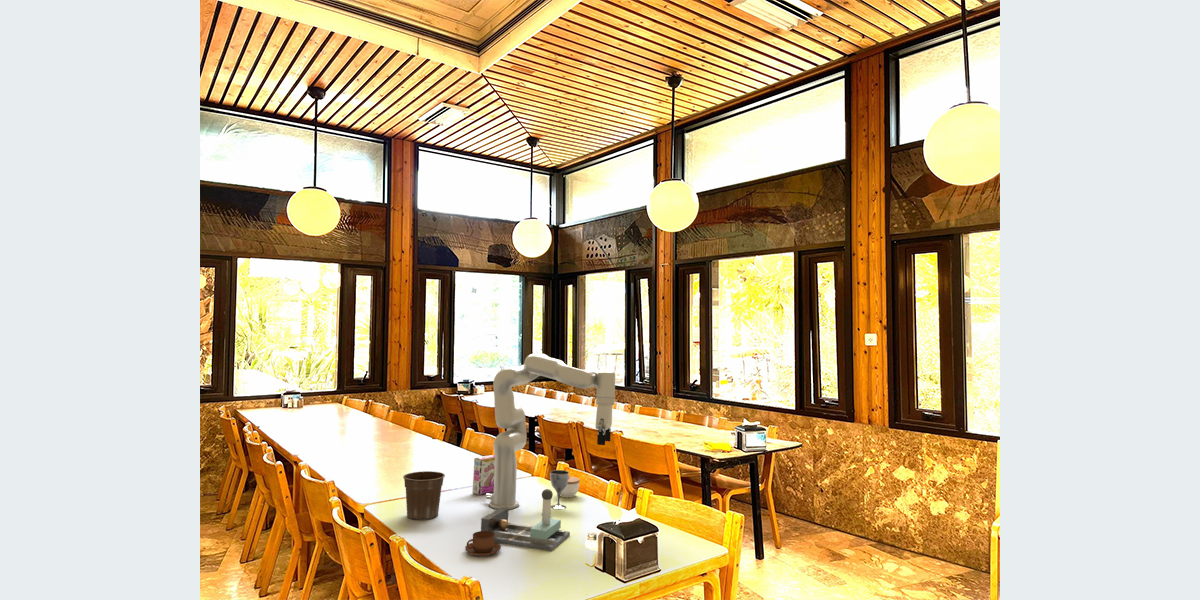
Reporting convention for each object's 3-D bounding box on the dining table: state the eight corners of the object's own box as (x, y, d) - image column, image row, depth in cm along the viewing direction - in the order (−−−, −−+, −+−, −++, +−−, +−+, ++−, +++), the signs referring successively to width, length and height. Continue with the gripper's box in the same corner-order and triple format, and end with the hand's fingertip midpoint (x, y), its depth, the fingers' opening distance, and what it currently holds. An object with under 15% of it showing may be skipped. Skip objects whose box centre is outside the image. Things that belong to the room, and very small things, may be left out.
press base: (479, 540, 223) (479, 519, 224) (501, 526, 240) (502, 506, 241) (551, 551, 215) (552, 529, 215) (569, 535, 232) (570, 515, 232)
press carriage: (530, 537, 219) (531, 492, 220) (545, 526, 233) (547, 484, 234) (545, 539, 218) (547, 494, 218) (560, 528, 231) (562, 485, 232)
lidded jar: (583, 495, 290) (584, 475, 291) (570, 500, 281) (571, 479, 282) (564, 491, 296) (565, 471, 296) (551, 496, 287) (552, 475, 287)
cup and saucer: (484, 561, 203) (484, 542, 204) (457, 553, 210) (458, 535, 210) (508, 551, 213) (508, 533, 214) (481, 544, 220) (482, 526, 220)
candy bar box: (479, 495, 283) (481, 459, 284) (472, 493, 286) (473, 457, 287) (497, 491, 292) (498, 456, 293) (489, 489, 295) (491, 454, 296)
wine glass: (570, 505, 272) (571, 471, 273) (563, 510, 264) (564, 474, 265) (553, 503, 275) (554, 469, 275) (546, 508, 267) (547, 472, 268)
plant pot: (393, 515, 250) (395, 474, 251) (428, 507, 261) (430, 469, 262) (414, 524, 239) (417, 482, 239) (450, 516, 250) (452, 476, 251)
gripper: (601, 398, 265) (599, 438, 265) (591, 402, 249) (589, 445, 248) (618, 399, 264) (617, 440, 263) (609, 403, 247) (608, 447, 246)
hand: (603, 442), depth 255 cm, fingers open, 9 cm apart
